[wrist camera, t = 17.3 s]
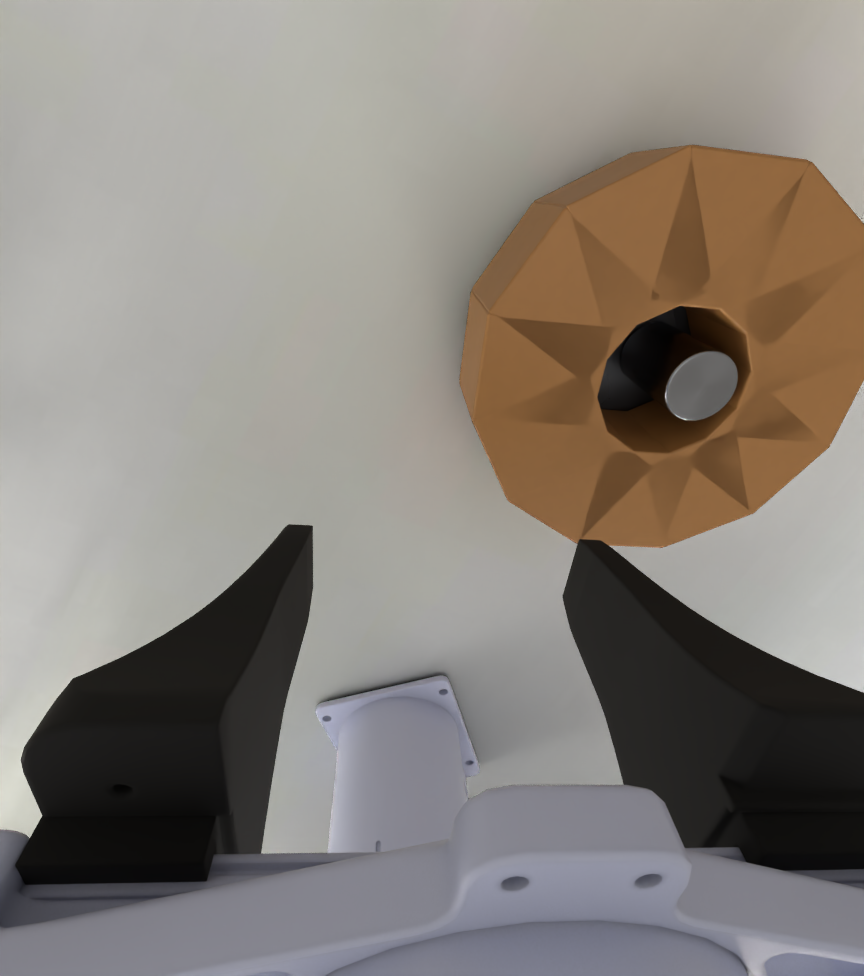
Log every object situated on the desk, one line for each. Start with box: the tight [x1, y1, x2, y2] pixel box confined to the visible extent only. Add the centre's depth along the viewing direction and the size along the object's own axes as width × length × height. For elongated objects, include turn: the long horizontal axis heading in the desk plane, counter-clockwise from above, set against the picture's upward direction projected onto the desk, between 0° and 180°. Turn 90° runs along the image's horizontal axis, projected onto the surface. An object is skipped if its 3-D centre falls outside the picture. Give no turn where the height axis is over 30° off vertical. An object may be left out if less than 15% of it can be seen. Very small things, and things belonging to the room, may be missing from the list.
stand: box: [597, 306, 738, 421], centre depth 20 cm, size 9×9×5 cm
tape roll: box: [459, 145, 864, 548], centre depth 19 cm, size 13×13×4 cm
